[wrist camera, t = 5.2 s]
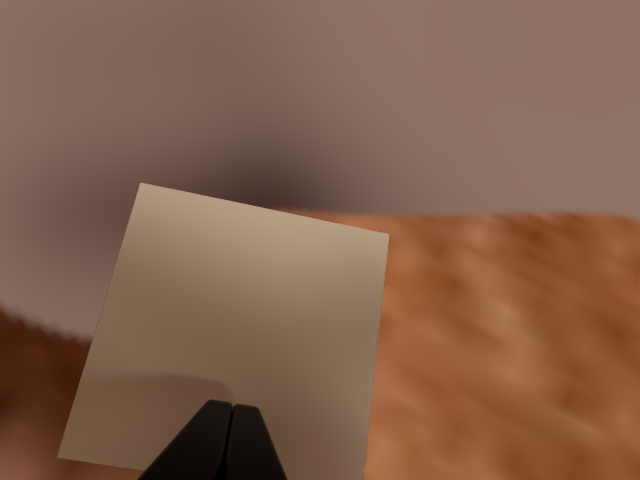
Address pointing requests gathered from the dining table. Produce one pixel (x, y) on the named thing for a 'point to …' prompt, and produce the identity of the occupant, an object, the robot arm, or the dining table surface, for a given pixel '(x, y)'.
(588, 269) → the dining table surface
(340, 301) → the plain block
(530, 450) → the dining table surface
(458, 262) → the dining table surface
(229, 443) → the robot arm
